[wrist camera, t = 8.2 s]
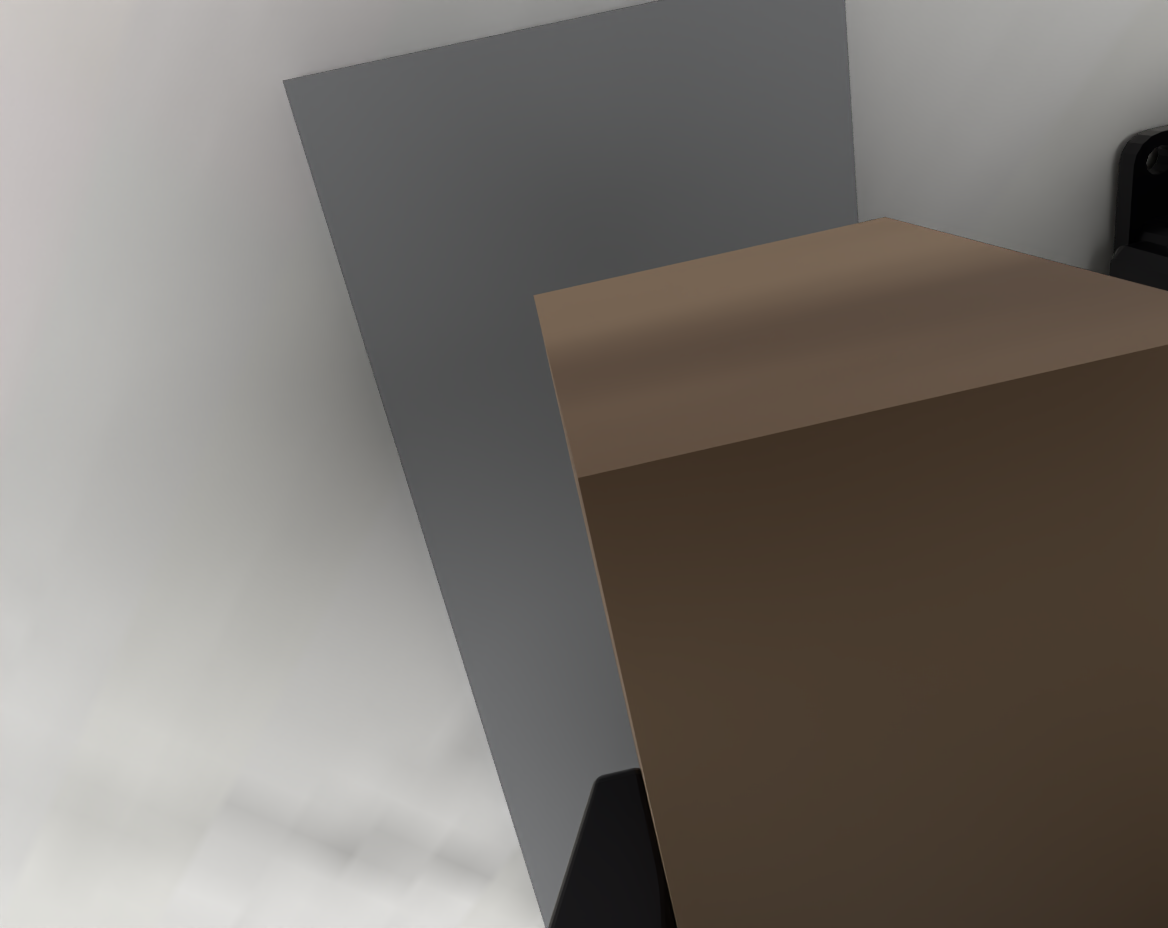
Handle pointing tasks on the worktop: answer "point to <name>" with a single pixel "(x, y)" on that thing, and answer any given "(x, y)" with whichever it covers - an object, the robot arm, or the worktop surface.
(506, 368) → the tool mat
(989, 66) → the worktop surface
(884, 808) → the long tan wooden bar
